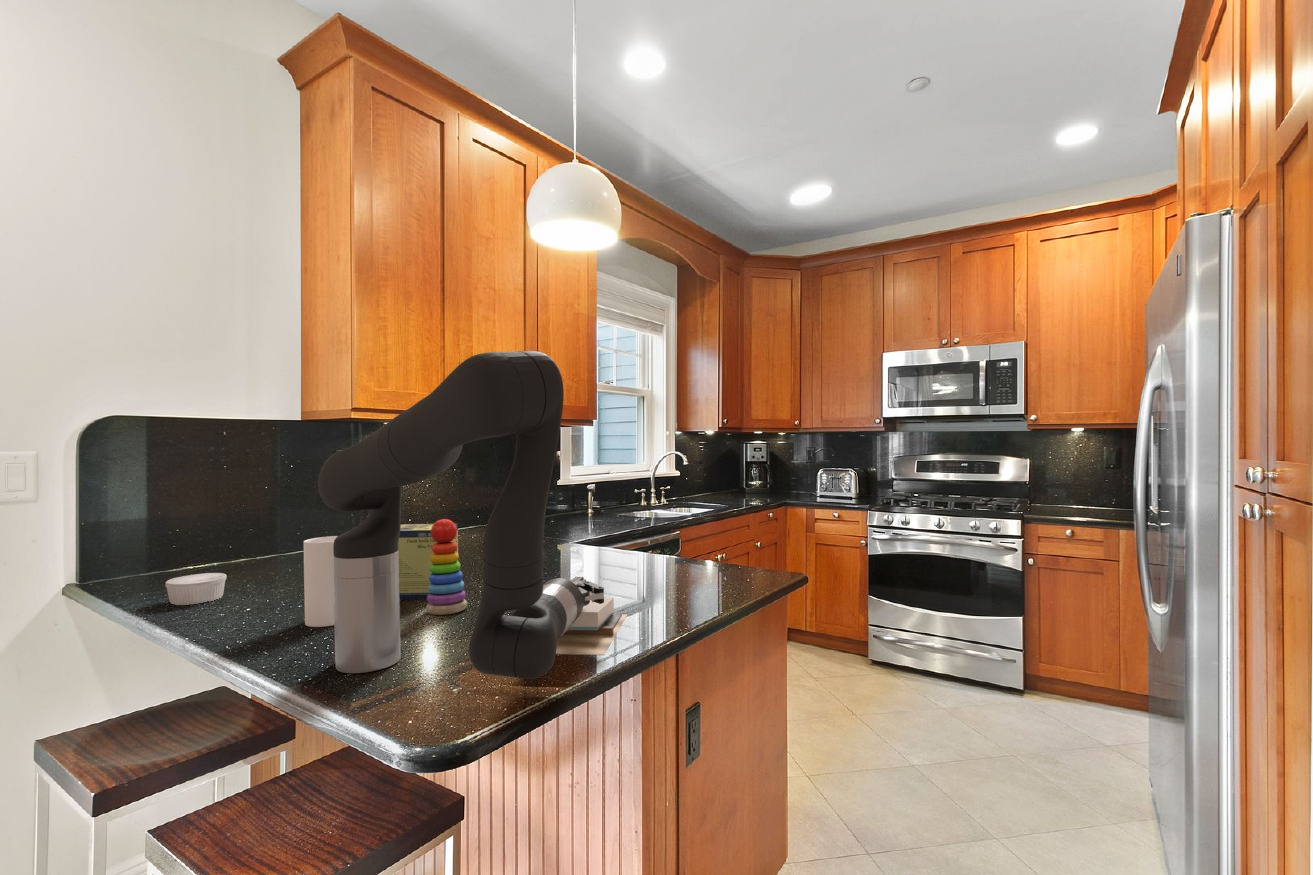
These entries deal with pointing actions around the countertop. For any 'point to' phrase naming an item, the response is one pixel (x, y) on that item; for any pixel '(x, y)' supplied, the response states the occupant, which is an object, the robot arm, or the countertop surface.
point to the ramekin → (196, 588)
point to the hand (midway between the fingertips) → (579, 582)
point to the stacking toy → (445, 572)
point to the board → (590, 638)
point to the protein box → (416, 560)
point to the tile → (594, 615)
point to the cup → (319, 581)
